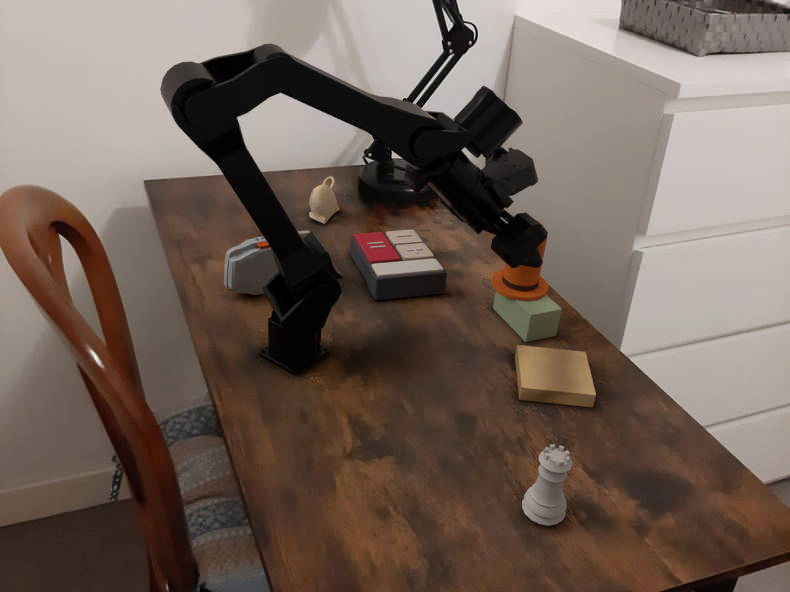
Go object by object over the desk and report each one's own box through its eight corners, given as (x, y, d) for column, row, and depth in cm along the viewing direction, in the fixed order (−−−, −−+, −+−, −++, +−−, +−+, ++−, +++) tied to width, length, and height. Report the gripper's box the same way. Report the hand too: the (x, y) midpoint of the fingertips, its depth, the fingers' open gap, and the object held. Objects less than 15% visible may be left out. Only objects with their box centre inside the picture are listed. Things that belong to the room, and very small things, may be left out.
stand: (519, 400, 92) (521, 387, 91) (514, 356, 100) (517, 344, 99) (592, 407, 92) (596, 395, 91) (582, 363, 100) (585, 351, 99)
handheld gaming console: (312, 271, 115) (312, 223, 111) (321, 279, 113) (322, 232, 109) (222, 294, 108) (220, 244, 104) (231, 303, 106) (228, 253, 102)
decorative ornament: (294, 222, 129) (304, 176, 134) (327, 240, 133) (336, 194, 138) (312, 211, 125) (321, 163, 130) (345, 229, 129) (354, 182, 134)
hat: (509, 305, 102) (521, 237, 97) (480, 276, 108) (490, 211, 103) (558, 296, 105) (573, 229, 100) (528, 268, 111) (540, 204, 106)
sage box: (525, 342, 103) (531, 314, 101) (492, 308, 110) (497, 281, 107) (556, 336, 105) (562, 308, 102) (521, 302, 112) (526, 276, 109)
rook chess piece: (559, 495, 79) (574, 438, 75) (569, 529, 75) (585, 470, 71) (517, 494, 79) (530, 436, 75) (525, 528, 75) (538, 469, 71)
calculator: (415, 226, 122) (448, 267, 110) (413, 250, 124) (445, 293, 112) (349, 231, 119) (376, 274, 107) (348, 256, 121) (374, 300, 109)
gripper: (547, 163, 86) (605, 237, 95) (469, 110, 100) (526, 180, 110) (478, 234, 87) (542, 300, 97) (410, 172, 101) (472, 235, 111)
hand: (521, 249), depth 103 cm, fingers open, 9 cm apart
